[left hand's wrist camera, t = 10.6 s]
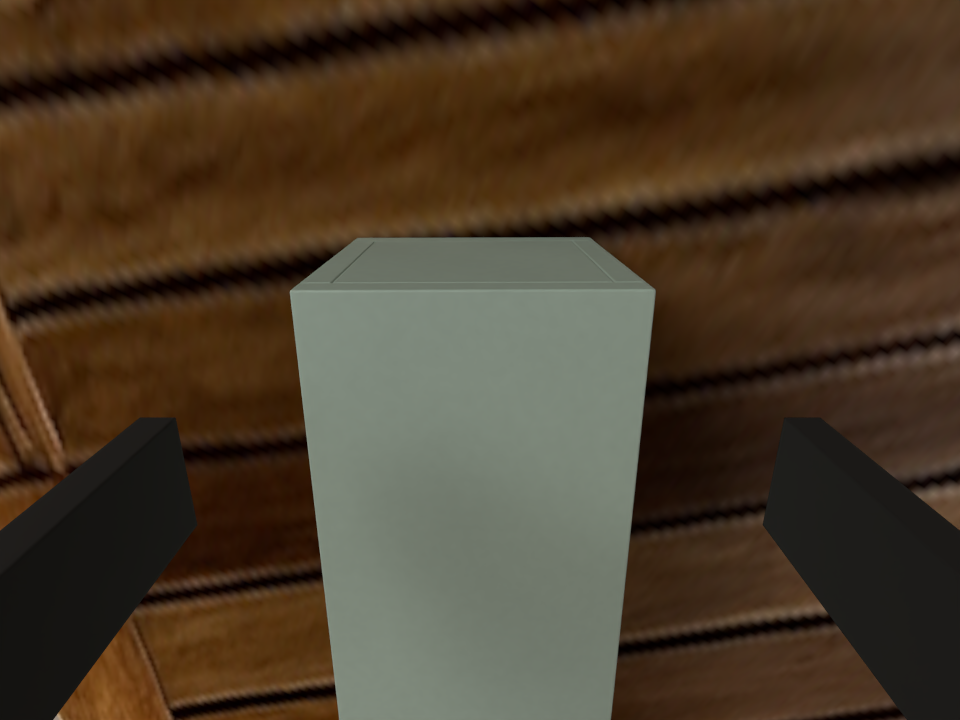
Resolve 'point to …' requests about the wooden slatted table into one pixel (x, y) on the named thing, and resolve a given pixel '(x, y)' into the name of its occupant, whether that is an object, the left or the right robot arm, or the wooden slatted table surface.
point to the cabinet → (473, 471)
